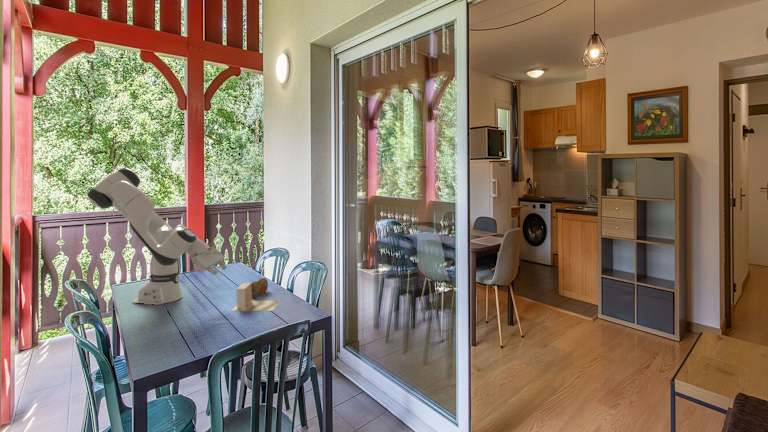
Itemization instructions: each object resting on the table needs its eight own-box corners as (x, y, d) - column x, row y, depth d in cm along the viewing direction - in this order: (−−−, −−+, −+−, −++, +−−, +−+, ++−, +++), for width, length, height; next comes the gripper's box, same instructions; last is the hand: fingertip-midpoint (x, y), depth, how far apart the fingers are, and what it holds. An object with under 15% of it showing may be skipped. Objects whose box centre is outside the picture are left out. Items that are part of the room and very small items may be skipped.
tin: (254, 299, 198) (253, 284, 197) (248, 299, 199) (248, 283, 198) (268, 291, 213) (268, 276, 212) (263, 290, 213) (262, 276, 212)
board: (230, 312, 179) (230, 311, 179) (241, 301, 194) (241, 300, 194) (272, 311, 180) (272, 310, 180) (280, 301, 195) (280, 300, 195)
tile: (237, 308, 182) (236, 288, 181) (243, 301, 192) (243, 282, 191) (245, 308, 183) (245, 288, 182) (252, 301, 193) (251, 282, 192)
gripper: (193, 251, 173) (215, 272, 174) (213, 243, 193) (233, 261, 194) (184, 261, 173) (206, 281, 174) (206, 251, 194) (225, 270, 195)
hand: (221, 271), depth 184 cm, fingers open, 8 cm apart
